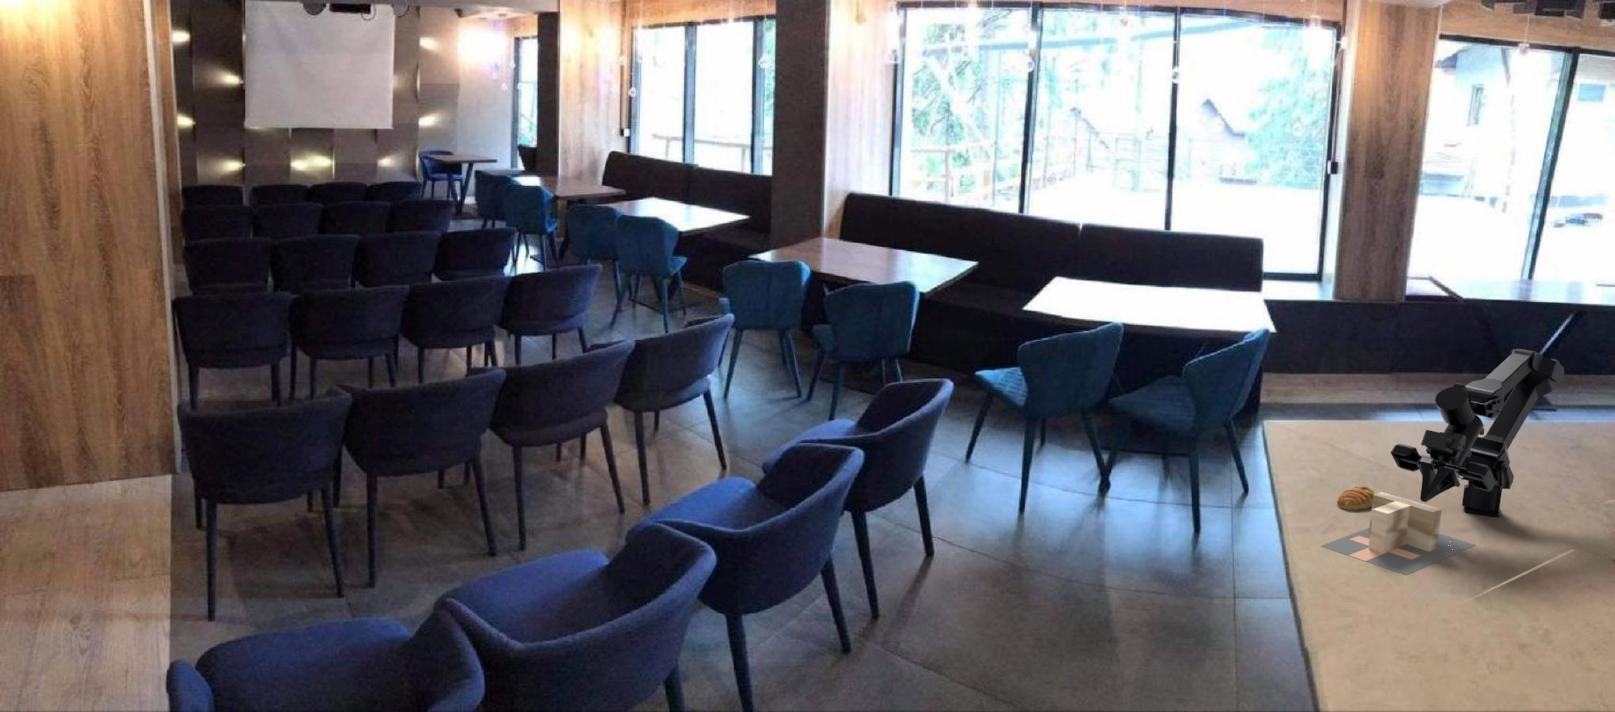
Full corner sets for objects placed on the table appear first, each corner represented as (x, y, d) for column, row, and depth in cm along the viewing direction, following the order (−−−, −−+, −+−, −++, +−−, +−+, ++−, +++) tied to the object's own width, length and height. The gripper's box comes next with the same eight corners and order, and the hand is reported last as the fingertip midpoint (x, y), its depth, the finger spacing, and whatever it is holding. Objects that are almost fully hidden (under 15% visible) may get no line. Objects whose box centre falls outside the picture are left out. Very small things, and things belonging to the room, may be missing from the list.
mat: (1391, 521, 241) (1391, 519, 241) (1475, 546, 227) (1476, 544, 227) (1320, 547, 227) (1320, 545, 226) (1405, 577, 213) (1406, 574, 213)
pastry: (1359, 516, 244) (1361, 498, 243) (1327, 507, 249) (1329, 490, 248) (1379, 506, 250) (1381, 489, 249) (1348, 498, 255) (1350, 481, 254)
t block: (1377, 529, 235) (1381, 492, 233) (1436, 548, 225) (1441, 509, 224) (1346, 541, 229) (1350, 502, 227) (1406, 560, 219) (1411, 520, 217)
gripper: (1401, 405, 238) (1365, 466, 234) (1496, 426, 223) (1459, 491, 219) (1416, 436, 244) (1382, 496, 240) (1510, 459, 229) (1475, 522, 225)
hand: (1422, 500), depth 231 cm, fingers closed
